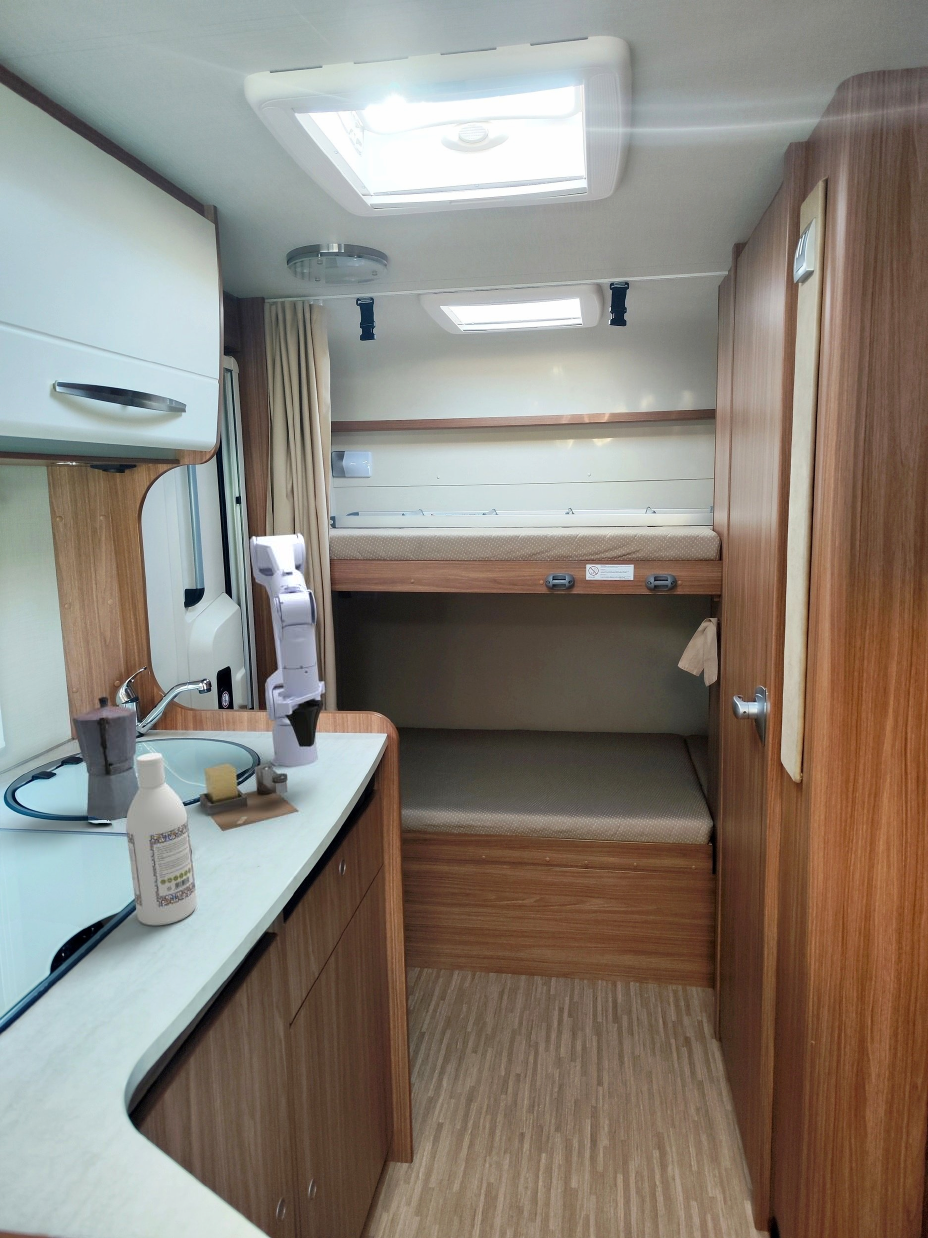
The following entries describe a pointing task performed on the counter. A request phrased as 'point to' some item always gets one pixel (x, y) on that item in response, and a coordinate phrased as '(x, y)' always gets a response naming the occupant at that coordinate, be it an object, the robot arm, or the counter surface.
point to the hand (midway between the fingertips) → (306, 745)
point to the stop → (221, 783)
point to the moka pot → (108, 758)
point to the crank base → (246, 809)
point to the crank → (270, 780)
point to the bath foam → (159, 848)
